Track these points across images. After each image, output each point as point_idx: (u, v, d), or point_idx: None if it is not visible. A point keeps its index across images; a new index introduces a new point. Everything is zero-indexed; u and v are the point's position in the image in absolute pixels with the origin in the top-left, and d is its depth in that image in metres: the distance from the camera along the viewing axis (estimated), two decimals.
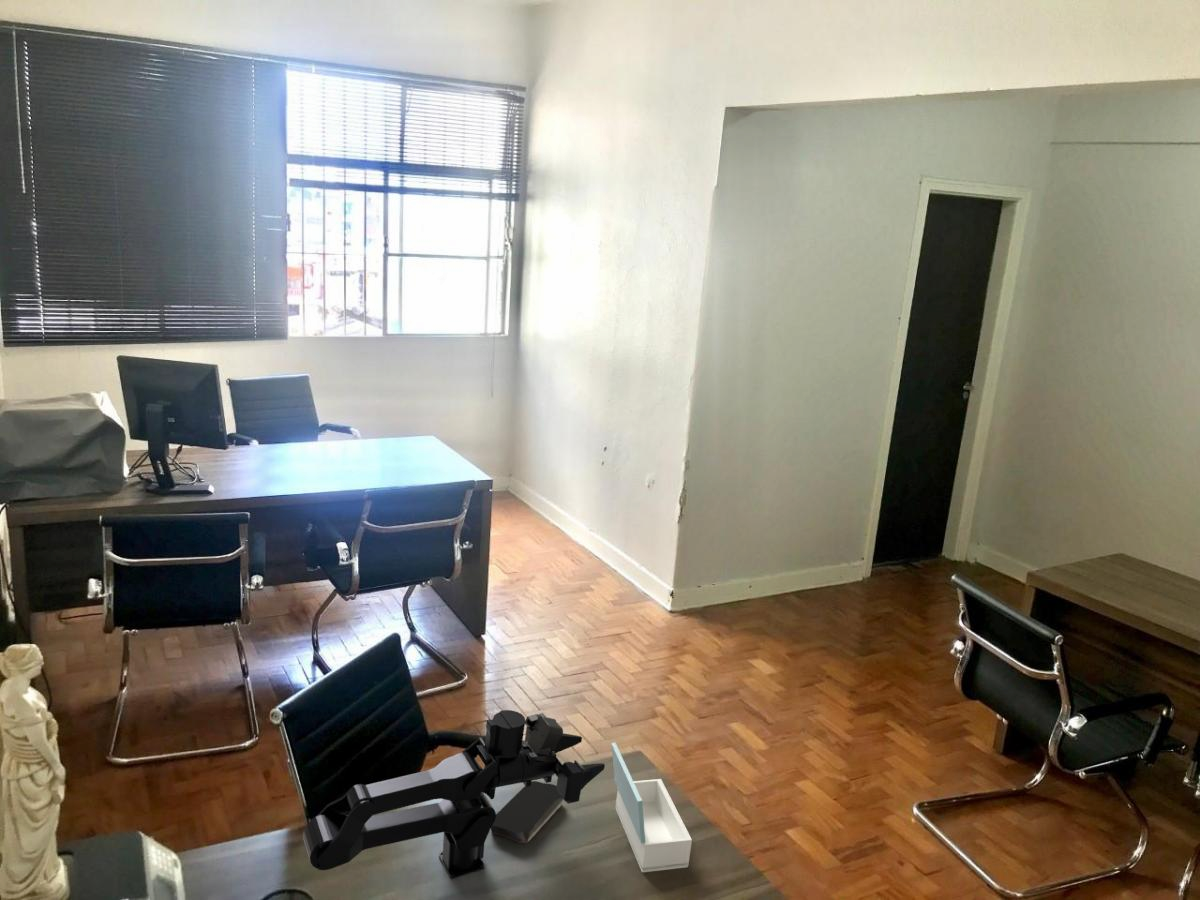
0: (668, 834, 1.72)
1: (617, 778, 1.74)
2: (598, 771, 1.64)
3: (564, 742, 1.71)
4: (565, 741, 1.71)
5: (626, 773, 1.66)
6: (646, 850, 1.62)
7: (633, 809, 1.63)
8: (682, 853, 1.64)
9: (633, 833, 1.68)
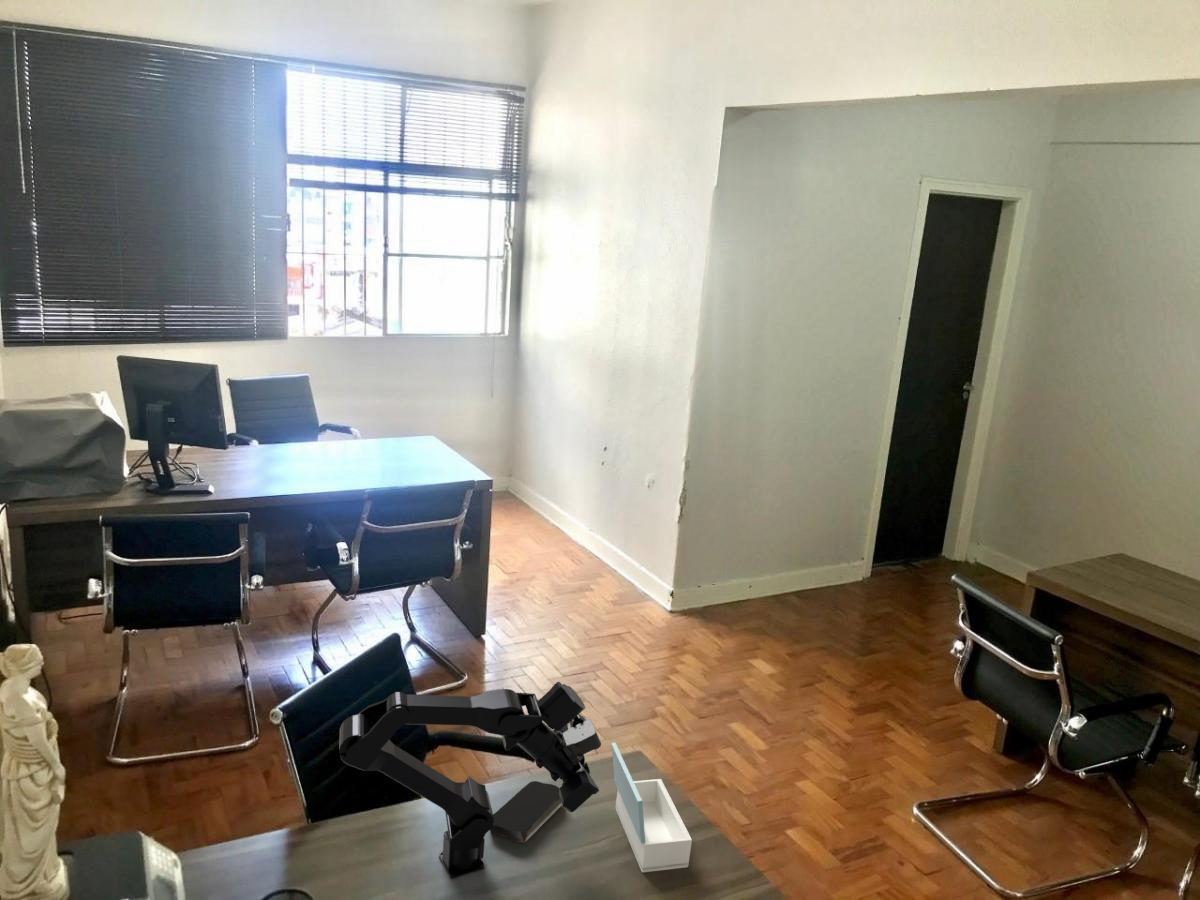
0: (668, 834, 1.72)
1: (617, 778, 1.74)
2: None
3: None
4: None
5: (626, 773, 1.66)
6: (646, 850, 1.62)
7: (633, 809, 1.63)
8: (682, 853, 1.64)
9: (633, 833, 1.68)
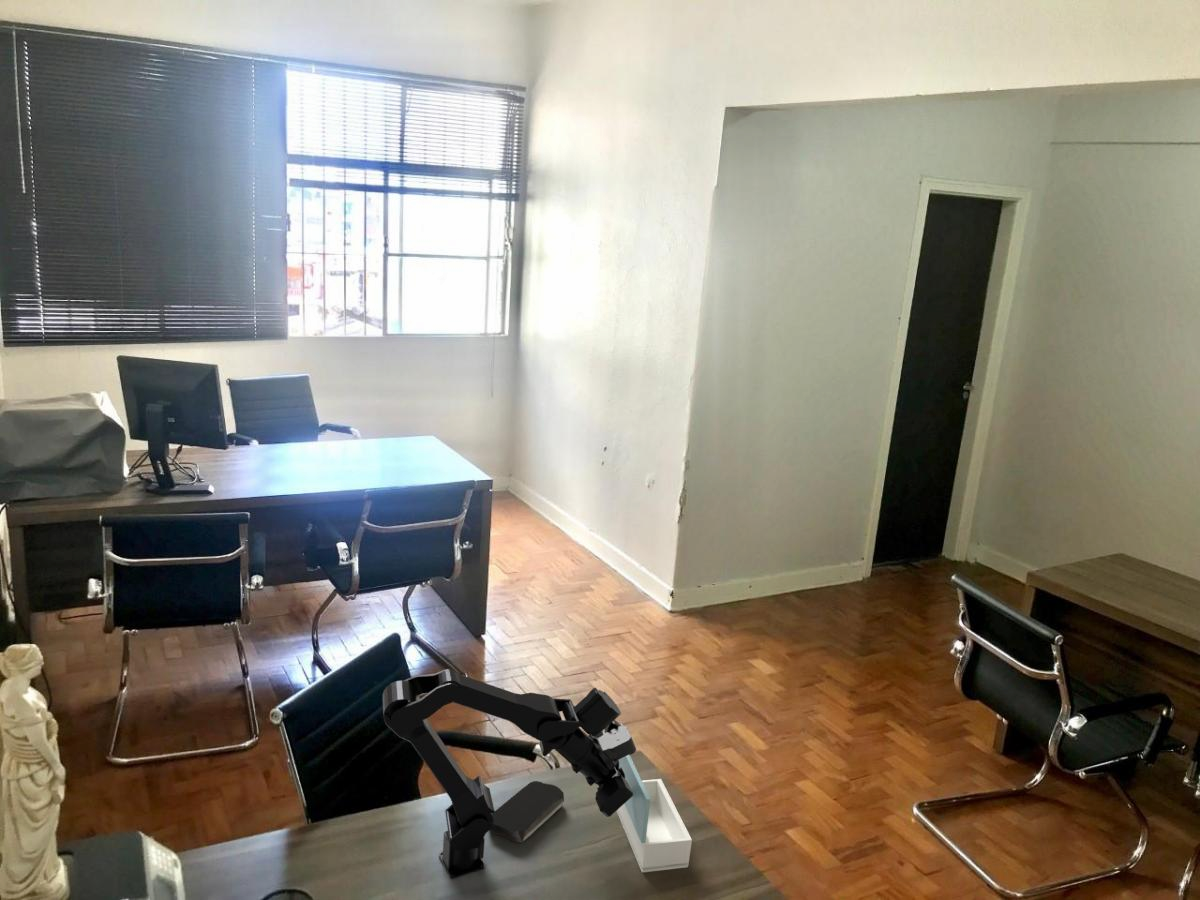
0: (668, 834, 1.72)
1: None
2: None
3: None
4: None
5: (634, 771, 1.66)
6: (646, 850, 1.62)
7: (637, 808, 1.63)
8: (682, 853, 1.64)
9: (633, 833, 1.68)
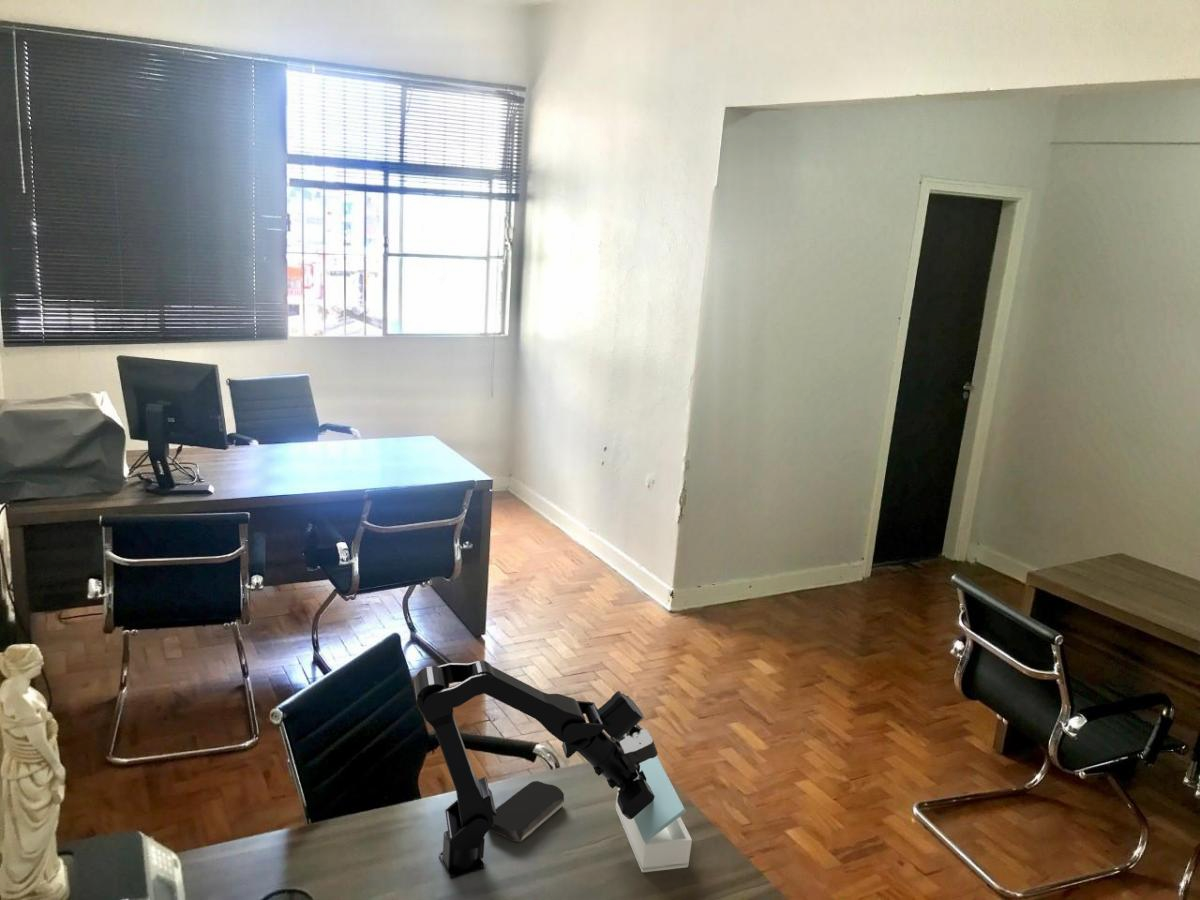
0: (668, 834, 1.72)
1: None
2: None
3: None
4: None
5: (670, 782, 1.69)
6: (646, 850, 1.62)
7: (656, 811, 1.65)
8: (682, 853, 1.64)
9: (633, 833, 1.68)
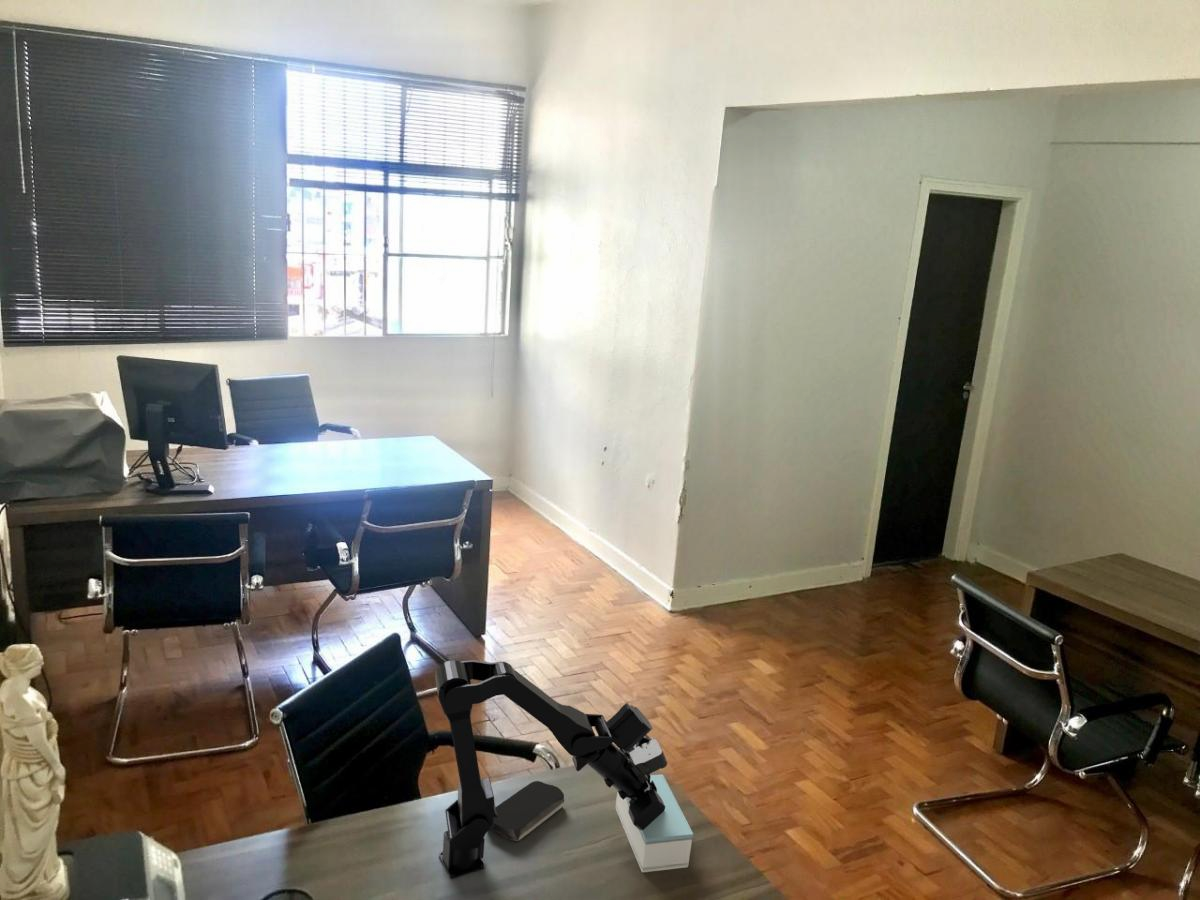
0: None
1: None
2: None
3: None
4: None
5: None
6: (646, 850, 1.62)
7: (662, 822, 1.66)
8: (682, 853, 1.64)
9: (633, 833, 1.68)
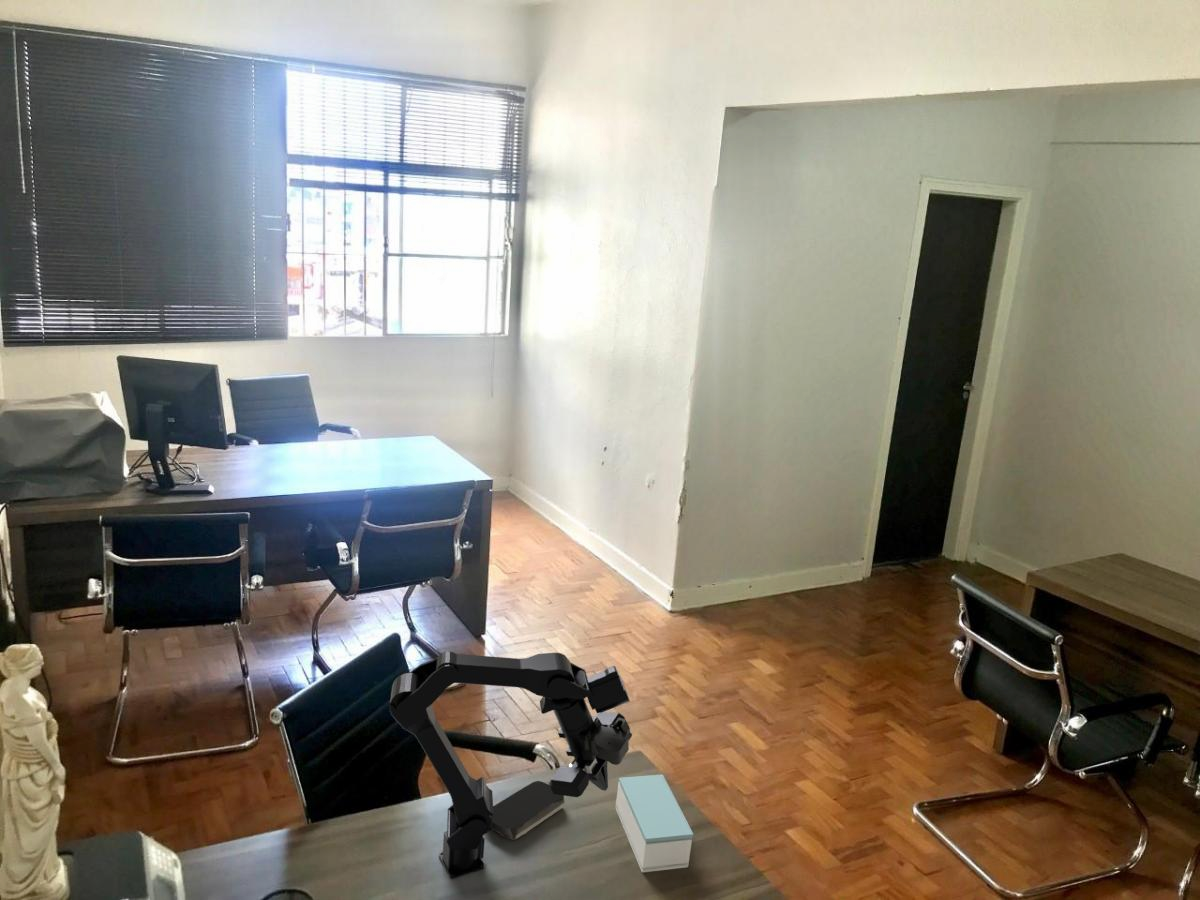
0: None
1: (637, 785, 1.76)
2: (598, 785, 1.61)
3: None
4: None
5: None
6: (646, 850, 1.62)
7: (662, 822, 1.66)
8: (682, 853, 1.64)
9: (633, 833, 1.68)
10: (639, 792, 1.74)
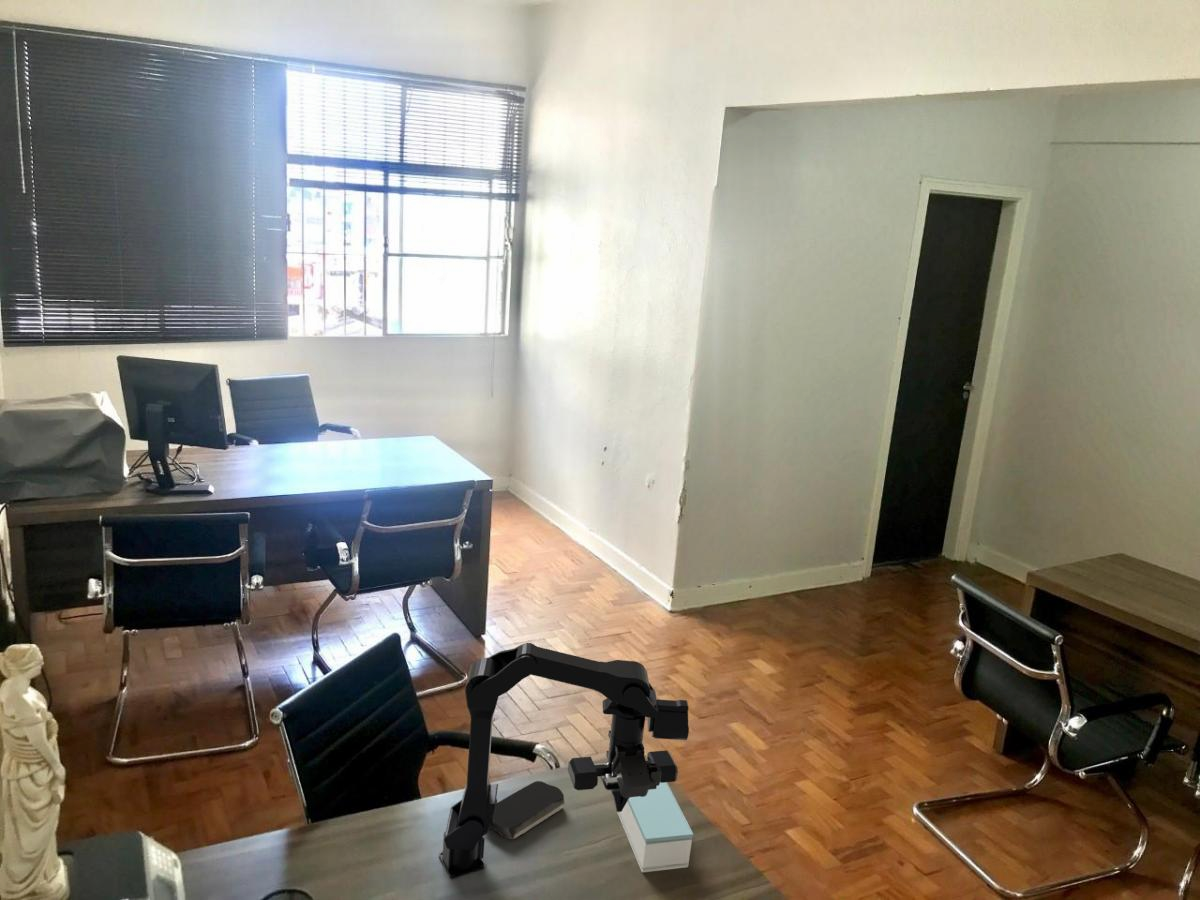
0: None
1: None
2: (614, 802, 1.59)
3: None
4: None
5: None
6: (646, 850, 1.62)
7: (662, 822, 1.66)
8: (682, 853, 1.64)
9: (633, 833, 1.68)
10: None
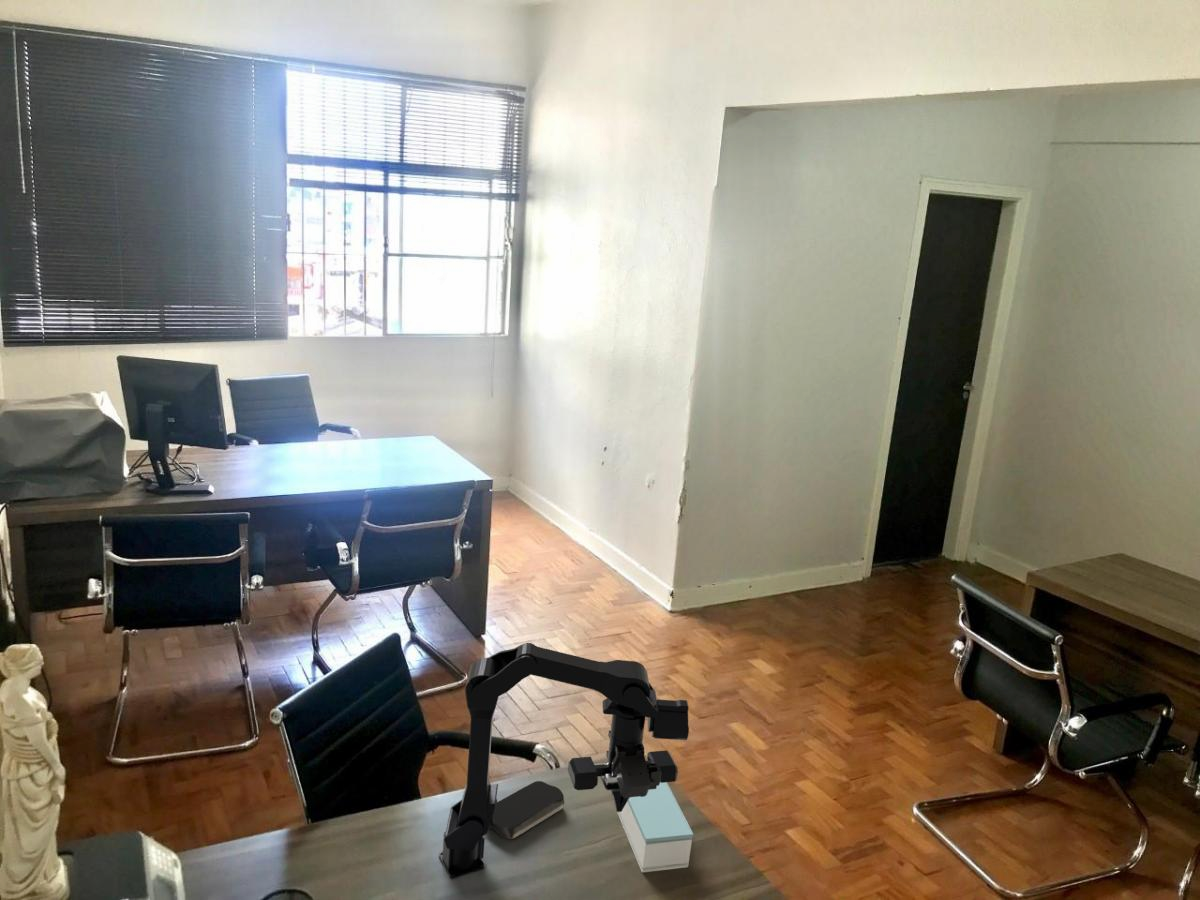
0: None
1: None
2: (614, 802, 1.59)
3: None
4: None
5: None
6: (646, 850, 1.62)
7: (662, 822, 1.66)
8: (682, 853, 1.64)
9: (633, 833, 1.68)
10: None
